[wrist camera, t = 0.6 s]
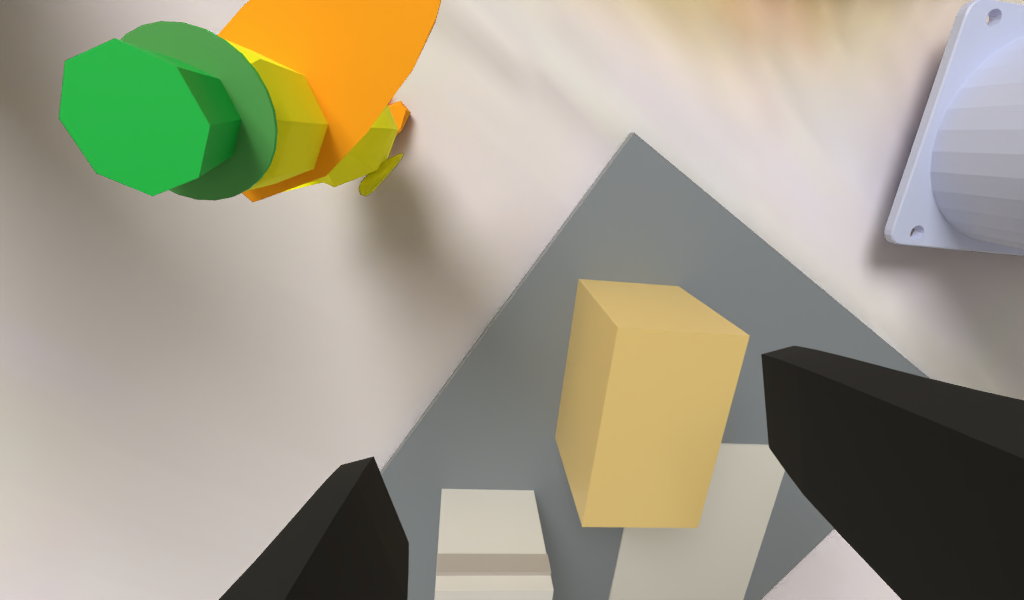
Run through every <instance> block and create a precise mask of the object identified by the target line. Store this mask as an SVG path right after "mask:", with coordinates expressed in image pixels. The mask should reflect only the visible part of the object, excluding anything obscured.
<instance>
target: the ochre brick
mask: <svg viewBox="0 0 1024 600" xmlns="http://www.w3.org/2000/svg"><path fill="white" fill-rule="evenodd" d="M749 337H750V335H748V334H747V333H745V332H744V331H743V330H741V329H740V328H738V327H737V326H735V325H734V324H732V323H731V322H730V321H728V320H727V319H725V318H724V317H722V316H721V315H719V314H718V313H717V312H715V311H714V310H712V309H711V308H709V307H708V306H706V305H705V304H704V303H702V302H701V301H699V300H698V299H696V298H695V297H693V296H692V295H691V294H689V293H688V292H686V291H685V290H683V289H682V288H681V287H679V286H669V285H655V284H641V283H628V282H614V281H600V280H586V279H578V285H577V292H576V299H575V306H574V313H573V319H572V326H571V333H570V340H569V346H568V353H567V360H566V367H565V373H564V380H563V387H562V394H561V401H560V407H559V414H558V421H557V428H556V434H555V439H556V443H557V446H558V449H559V453H560V456H561V459H562V462H563V466H564V469H565V472H566V476H567V479H568V482H569V485H570V489H571V492H572V495H573V499H574V502H575V505H576V508H577V512H578V515H579V518H580V521H581V525H582V527H635V528H698V526H699V523H700V519H701V515H702V511H703V508H704V504H705V500H706V497H707V493H708V489H709V485H710V482H711V478H712V474H713V471H714V467H715V463H716V459H717V456H718V452H719V448H720V445H721V441H722V437H723V433H724V430H725V426H726V422H727V419H728V415H729V411H730V407H731V404H732V400H733V396H734V393H735V389H736V385H737V381H738V378H739V374H740V370H741V367H742V363H743V359H744V355H745V352H746V348H747V344H748V341H749Z"/></svg>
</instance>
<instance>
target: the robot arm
mask: <svg viewBox="0 0 1024 600" xmlns="http://www.w3.org/2000/svg"><path fill="white" fill-rule="evenodd" d="M987 15H989V22H988V24H987V23H986V18H987ZM913 228H914V232H913V234H912V235H911V236H910V233H911V231H912V229H913ZM884 236H885V239H886V240H887V241H888V242H890V243H894V244H898V245H907V246H918V247H930V248H941V249H952V250H963V251H975V252H986V253H997V254H1009V255H1020V256H1024V5H1023V4H1017V3H1010V2H1004V1H998V0H973V1H970V2H968V3H966V4H964V5H963V7H962V8H961V9H960V10H959V12H958V14H957V16H956V19H955V21H954V24H953V27H952V30H951V33H950V36H949V39H948V42H947V45H946V48H945V51H944V54H943V57H942V60H941V63H940V66H939V69H938V72H937V75H936V78H935V81H934V84H933V87H932V90H931V93H930V96H929V99H928V102H927V105H926V108H925V111H924V114H923V117H922V120H921V123H920V126H919V129H918V131H917V134H916V137H915V140H914V143H913V146H912V149H911V152H910V155H909V158H908V161H907V164H906V167H905V170H904V173H903V176H902V179H901V182H900V185H899V188H898V191H897V194H896V197H895V200H894V203H893V206H892V209H891V212H890V215H889V218H888V221H887V224H886V227H885V231H884ZM761 357H762V370H763V382H764V395H765V407H766V419H767V432H768V444H769V448H770V450H771V451H772V453H773V454H774V455H775V457H776V458H777V460H778V461H779V462H780V464H781V465H782V467H783V468H784V470H785V471H786V472H787V474H788V475H789V476H790V478H791V479H792V480H793V482H794V483H795V484H796V486H797V487H798V488H799V490H800V491H801V492H802V494H803V495H804V496H805V497H806V498H807V499H808V500H809V502H810V503H811V504H812V505H813V506H814V507H815V508H816V509H817V510H818V511H819V512H820V513H821V515H822V516H823V517H824V518H825V519H826V520H827V521H828V522H829V523H830V524H831V525H832V526H833V527H834V529H835V530H836V531H837V532H838V533H839V534H840V535H841V536H842V537H843V538H844V539H845V540H846V541H847V542H848V543H849V544H850V545H851V547H852V548H853V549H854V550H855V551H856V552H857V553H858V554H859V555H860V556H861V557H862V558H863V559H864V560H865V561H866V562H867V563H868V564H869V566H870V567H871V568H872V569H873V570H874V571H875V572H876V573H877V574H878V575H879V576H880V577H881V578H882V579H883V580H884V581H885V582H886V583H887V585H888V586H889V587H890V588H891V589H892V590H893V591H894V592H895V593H896V594H897V595H898V596H899V597H900V598H901V599H902V600H1024V401H1023V400H1019V399H1014V398H1010V397H1005V396H1001V395H996V394H992V393H987V392H983V391H978V390H974V389H970V388H966V387H962V386H957V385H953V384H949V383H945V382H941V381H937V380H933V379H929V378H925V377H921V376H917V375H914V374H910V373H906V372H902V371H898V370H894V369H890V368H887V367H883V366H879V365H875V364H871V363H868V362H864V361H860V360H856V359H852V358H848V357H845V356H841V355H836V354H832V353H828V352H824V351H820V350H815V349H811V348H806V347H800V346H791V347H787V348H783V349H779V350H775V351H772V352H768V353H764V354H761ZM408 574H409V542H408V539H407V537H406V534H405V532H404V529H403V527H402V524H401V522H400V520H399V517H398V515H397V512H396V510H395V507H394V505H393V502H392V500H391V498H390V495H389V493H388V490H387V488H386V485H385V483H384V481H383V478H382V476H381V473H380V471H379V468H378V466H377V463H376V461H375V459H374V457H370V458H366V459H363V460H359V461H355V462H351V463H348V464H344V465H341V466H340V467H339V468H338V469H337V470H336V471H335V472H334V473H333V474H332V475H331V476H330V477H329V478H328V479H327V480H326V481H325V482H324V483H323V484H322V486H321V487H320V488H319V489H318V490H317V491H316V492H315V493H314V495H313V496H312V497H311V498H310V499H309V500H308V501H307V503H306V504H305V505H304V506H303V507H302V508H301V509H300V511H299V512H298V513H297V514H296V515H295V516H294V518H293V519H292V520H291V521H290V522H289V523H288V524H287V525H286V527H285V528H284V529H283V530H282V531H281V532H280V533H279V535H278V536H277V537H276V538H275V539H274V540H273V541H272V542H271V544H270V545H269V546H268V547H267V548H266V549H265V550H264V552H263V553H262V554H261V555H260V556H259V557H258V558H257V559H256V561H255V562H254V563H253V564H252V565H251V566H250V567H249V568H248V569H247V570H246V571H245V572H244V573H243V574H242V576H241V577H240V578H239V579H238V580H237V581H236V582H235V583H234V584H233V585H232V586H231V587H230V588H229V589H228V590H227V591H226V593H225V594H224V595H223V596H222V597H221V598H220V599H219V600H407V598H408Z"/></svg>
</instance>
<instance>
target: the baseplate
mask: <svg viewBox="0 0 1024 600" xmlns="http://www.w3.org/2000/svg"><path fill="white" fill-rule="evenodd" d="M578 279H586V280H600V281H614V282H628V283H641V284H655V285H669V286H679V287H681V288H682V289H683V290H685V291H686V292H688V293H689V294H691V295H692V296H693V297H695V298H696V299H698V300H699V301H701V302H702V303H704V304H705V305H706V306H708V307H709V308H711V309H712V310H714V311H715V312H717V313H718V314H719V315H721V316H722V317H724V318H725V319H727V320H728V321H730V322H731V323H732V324H734V325H735V326H737V327H738V328H740V329H741V330H743V331H744V332H745V333H747V334H748V335H750V337H749V341H748V344H747V348H746V352H745V355H744V359H743V363H742V367H741V370H740V374H739V378H738V381H737V385H736V389H735V393H734V396H733V400H732V404H731V407H730V411H729V415H728V419H727V422H726V426H725V430H724V433H723V437H722V441H721V445H720V448H719V452H718V456H717V459H716V463H715V467H714V471H713V474H712V478H711V482H710V485H709V489H708V493H707V497H706V500H705V504H704V508H703V511H702V515H701V519H700V523H699V526H698V528H635V527H582V525H581V521H580V518H579V515H578V512H577V508H576V505H575V502H574V499H573V495H572V492H571V489H570V485H569V482H568V479H567V476H566V472H565V469H564V466H563V462H562V459H561V456H560V453H559V449H558V446H557V443H556V439H555V434H556V428H557V421H558V414H559V407H560V401H561V394H562V387H563V380H564V373H565V367H566V360H567V353H568V346H569V340H570V333H571V326H572V319H573V313H574V306H575V299H576V292H577V285H578ZM791 346H800V347H806V348H811V349H815V350H820V351H824V352H828V353H832V354H836V355H841V356H845V357H848V358H852V359H856V360H860V361H864V362H868V363H871V364H875V365H879V366H883V367H887V368H890V369H894V370H898V371H902V372H906V373H910V374H914V375H917V376H921V377H925V378H928V377H927V376H926V375H925V374H924V373H922V372H921V371H920V370H919V369H918V368H916V367H915V366H914V365H913V364H912V363H910V362H909V361H908V360H907V359H906V358H904V357H903V356H902V355H901V354H900V353H898V352H897V351H896V350H895V349H894V348H892V347H891V346H890V345H889V344H888V343H886V342H885V341H884V340H883V339H882V338H880V337H879V336H878V335H877V334H876V333H874V332H873V331H872V330H871V329H870V328H868V327H867V326H866V325H865V324H864V323H862V322H861V321H860V320H859V319H858V318H856V317H855V316H854V315H853V314H852V313H850V312H849V311H848V310H847V309H846V308H844V307H843V306H842V305H841V304H840V303H838V302H837V301H836V300H835V299H834V298H832V297H831V296H830V295H829V294H828V293H826V292H825V291H824V290H823V289H821V288H820V287H819V286H818V285H817V284H815V283H814V282H813V281H812V280H811V279H809V278H808V277H807V276H806V275H805V274H803V273H802V272H801V271H800V270H799V269H797V268H796V267H795V266H794V265H793V264H791V263H790V262H789V261H788V260H787V259H785V258H784V257H783V256H782V255H781V254H779V253H778V252H777V251H776V250H775V249H773V248H772V247H771V246H770V245H769V244H767V243H766V242H765V241H764V240H763V239H761V238H760V237H759V236H758V235H757V234H755V233H754V232H753V231H752V230H751V229H749V228H748V227H747V226H746V225H745V224H743V223H742V222H741V221H740V220H739V219H737V218H736V217H735V216H734V215H733V214H731V213H730V212H729V211H728V210H727V209H725V208H724V207H723V206H722V205H721V204H719V203H718V202H717V201H716V200H715V199H713V198H712V197H711V196H710V195H708V194H707V193H706V192H705V191H704V190H702V189H701V188H700V187H699V186H698V185H696V184H695V183H694V182H693V181H692V180H690V179H689V178H688V177H687V176H686V175H684V174H683V173H682V172H681V171H680V170H678V169H677V168H676V167H675V166H674V165H672V164H671V163H670V162H669V161H668V160H666V159H665V158H664V157H663V156H662V155H660V154H659V153H658V152H657V151H656V150H654V149H653V148H652V147H651V146H650V145H648V144H647V143H646V142H645V141H644V140H642V139H641V138H640V137H639V136H638V135H636V134H635V133H630V134H629V136H628V137H627V138H626V140H625V141H624V142H623V144H622V145H621V146H620V148H619V149H618V150H617V152H616V153H615V155H614V156H613V157H612V159H611V160H610V161H609V163H608V164H607V165H606V167H605V168H604V169H603V171H602V172H601V174H600V175H599V176H598V178H597V179H596V180H595V182H594V183H593V184H592V186H591V187H590V188H589V190H588V191H587V193H586V194H585V195H584V197H583V198H582V199H581V201H580V202H579V203H578V205H577V206H576V207H575V209H574V210H573V212H572V213H571V214H570V216H569V217H568V218H567V220H566V221H565V222H564V224H563V225H562V226H561V228H560V229H559V231H558V232H557V233H556V235H555V236H554V237H553V239H552V240H551V241H550V243H549V244H548V245H547V247H546V248H545V250H544V251H543V252H542V254H541V255H540V256H539V258H538V259H537V260H536V262H535V263H534V264H533V266H532V267H531V269H530V270H529V271H528V273H527V274H526V275H525V277H524V278H523V279H522V281H521V282H520V283H519V285H518V286H517V288H516V289H515V290H514V292H513V293H512V294H511V296H510V297H509V298H508V300H507V301H506V302H505V304H504V305H503V307H502V308H501V309H500V311H499V312H498V313H497V315H496V316H495V317H494V319H493V320H492V321H491V323H490V324H489V326H488V327H487V328H486V330H485V331H484V332H483V334H482V335H481V336H480V338H479V339H478V340H477V342H476V343H475V345H474V346H473V347H472V349H471V350H470V351H469V353H468V354H467V355H466V357H465V358H464V359H463V361H462V362H461V364H460V365H459V366H458V368H457V369H456V370H455V372H454V373H453V374H452V376H451V377H450V378H449V380H448V381H447V383H446V384H445V385H444V387H443V388H442V389H441V391H440V392H439V393H438V395H437V396H436V397H435V399H434V400H433V402H432V403H431V404H430V406H429V407H428V408H427V410H426V411H425V412H424V414H423V415H422V416H421V418H420V419H419V421H418V422H417V423H416V425H415V426H414V427H413V429H412V430H411V431H410V433H409V434H408V435H407V437H406V438H405V440H404V441H403V442H402V444H401V445H400V446H399V448H398V449H397V450H396V452H395V453H394V454H393V456H392V457H391V459H390V460H389V461H388V463H387V464H386V465H385V467H384V468H383V469H382V471H381V472H380V473H381V476H382V478H383V481H384V483H385V485H386V488H387V490H388V493H389V495H390V498H391V500H392V502H393V505H394V507H395V510H396V512H397V515H398V517H399V520H400V522H401V524H402V527H403V529H404V532H405V534H406V537H407V539H408V542H409V574H408V598H407V600H434V596H435V581H436V567H437V552H438V537H439V522H440V507H441V493H442V489H485V490H534V494H535V499H536V504H537V509H538V514H539V519H540V524H541V529H542V534H543V539H544V544H545V549H546V554H548V559H549V563H550V568H551V579H552V584H553V589H554V592H553V598H552V600H761V599H762V598H763V597H764V596H765V595H766V594H767V593H768V592H769V591H770V590H771V589H772V588H773V587H774V586H775V585H776V584H777V583H778V582H779V581H780V580H781V579H783V578H784V577H785V576H786V575H787V574H788V573H789V572H790V571H791V570H792V569H793V568H794V567H795V566H796V565H797V564H798V563H799V562H800V561H801V560H802V559H803V558H804V557H805V556H806V555H807V554H808V553H809V552H811V551H812V550H813V549H814V548H815V547H816V546H817V545H818V544H819V543H820V542H821V541H822V540H823V539H824V538H825V537H826V536H827V535H828V534H829V533H830V532H831V531H832V530H833V529H834V527H833V526H832V525H831V524H830V523H829V522H828V521H827V520H826V519H825V518H824V517H823V516H822V515H821V513H820V512H819V511H818V510H817V509H816V508H815V507H814V506H813V505H812V504H811V503H810V502H809V500H808V499H807V498H806V497H805V496H804V495H803V494H802V492H801V491H800V490H799V488H798V487H797V486H796V484H795V483H794V482H793V480H792V479H791V478H790V476H789V475H788V474H787V472H786V471H785V470H784V468H783V467H782V465H781V464H780V462H779V461H778V460H777V458H776V457H775V455H774V454H773V453H772V451H771V450H770V448H769V444H768V432H767V419H766V407H765V395H764V382H763V370H762V357H761V354H764V353H768V352H772V351H775V350H779V349H783V348H787V347H791ZM929 379H930V378H929Z"/></svg>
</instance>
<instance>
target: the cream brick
mask: <svg viewBox="0 0 1024 600" xmlns="http://www.w3.org/2000/svg"><path fill="white" fill-rule="evenodd" d="M553 592H554V589H553V584H552V579H551V568H550V563H549V559H548V554H546V549H545V544H544V539H543V534H542V529H541V524H540V519H539V514H538V509H537V504H536V499H535V494H534V490H485V489H442V493H441V507H440V522H439V537H438V552H437V567H436V581H435V596H434V600H552V598H553Z"/></svg>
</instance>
